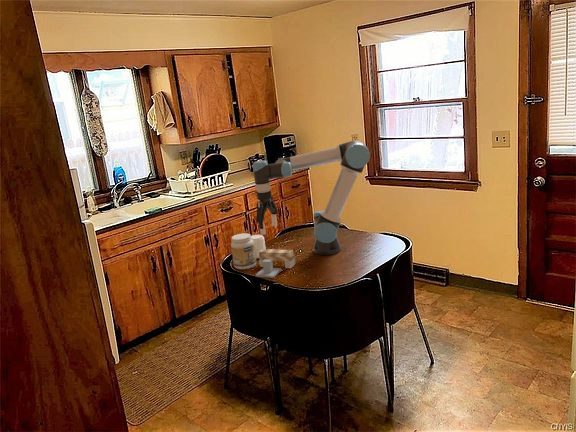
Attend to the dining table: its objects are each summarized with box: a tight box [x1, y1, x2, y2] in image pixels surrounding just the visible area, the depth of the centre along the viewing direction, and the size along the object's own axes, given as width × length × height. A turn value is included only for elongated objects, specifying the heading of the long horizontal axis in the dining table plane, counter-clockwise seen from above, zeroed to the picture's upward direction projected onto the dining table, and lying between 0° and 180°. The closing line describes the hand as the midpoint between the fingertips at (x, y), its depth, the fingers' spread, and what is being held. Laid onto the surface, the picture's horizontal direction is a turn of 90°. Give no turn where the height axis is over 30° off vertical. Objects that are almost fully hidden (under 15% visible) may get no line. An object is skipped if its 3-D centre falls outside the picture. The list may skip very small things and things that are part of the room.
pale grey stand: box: [255, 259, 282, 279], centre depth 237 cm, size 10×10×7 cm
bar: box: [259, 248, 295, 262], centre depth 246 cm, size 18×4×4 cm, turn 66°
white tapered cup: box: [251, 233, 267, 259], centre depth 262 cm, size 8×8×12 cm
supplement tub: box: [230, 233, 257, 270], centre depth 250 cm, size 12×12×17 cm
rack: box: [258, 256, 296, 269], centre depth 247 cm, size 18×6×4 cm, turn 66°
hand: (269, 230), depth 245 cm, fingers open, 13 cm apart
